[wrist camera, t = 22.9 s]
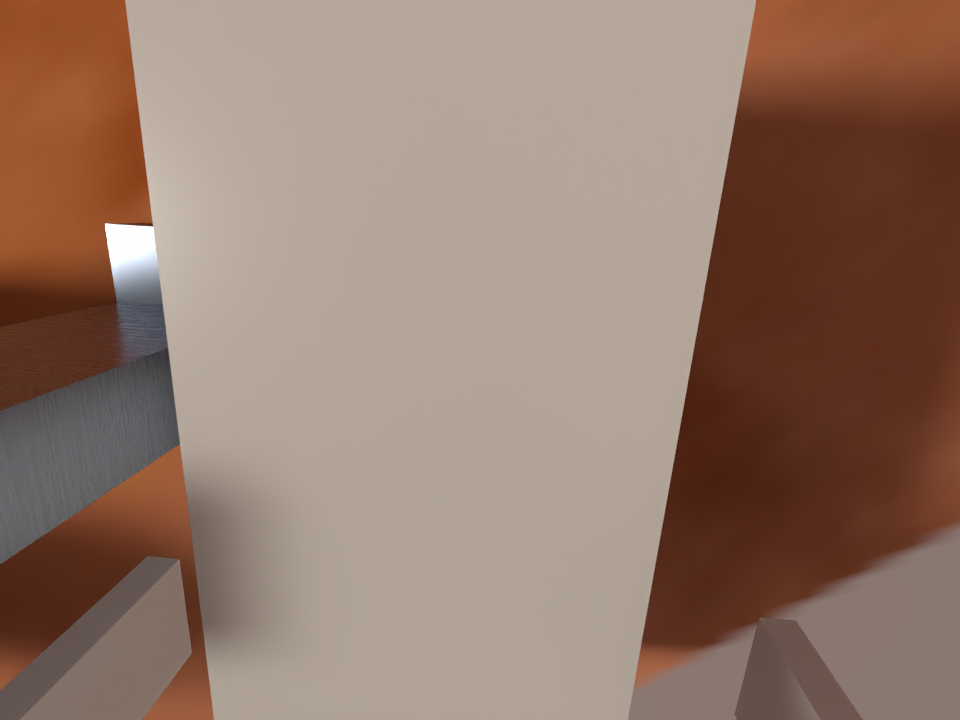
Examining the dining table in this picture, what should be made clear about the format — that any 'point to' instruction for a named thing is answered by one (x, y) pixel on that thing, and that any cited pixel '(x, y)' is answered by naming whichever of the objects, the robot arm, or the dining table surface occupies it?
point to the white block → (431, 335)
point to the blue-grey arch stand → (84, 397)
